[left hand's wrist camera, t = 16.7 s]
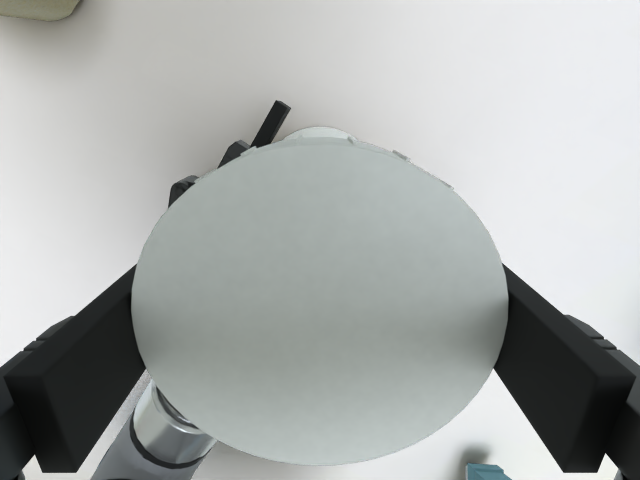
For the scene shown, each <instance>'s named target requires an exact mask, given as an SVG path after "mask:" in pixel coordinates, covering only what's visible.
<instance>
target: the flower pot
mask: <svg viewBox="0 0 640 480" xmlns="http://www.w3.org/2000/svg"><path fill="white" fill-rule="evenodd" d="M79 1H80V0H0V15H1V16H11V17H20V18H28V19H37V20H43V21H56V20H60V19H63V18H65V17H67V16H69V15H70V14H71V13H72V11H73V10H74V8H75V6H76V5H77V4H78V2H79Z"/></svg>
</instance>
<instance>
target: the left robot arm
mask: <svg viewBox="0 0 640 480" xmlns="http://www.w3.org/2000/svg"><path fill="white" fill-rule="evenodd" d="M502 265H503V269H504V272H505V276H506V283H507V291H508V321H507V326H506V331H505V336H504V340H503V344H502V348H501V350H500V353H499V356H498V359H497V361H496V363H495V365H494V367H493V368H494V370H495V371H496V373H497V374H498V376H499V377H500V379H501V380H502V382H503V383H504V385H505V386H506V388H507V389H508V391H509V392H510V394H511V395H512V397H513V398H514V400H515V401H516V403H517V404H518V405H519V407H520V408H521V410H522V411H523V413H524V414H525V416H526V417H527V419H528V420H529V422H530V423H531V425H532V426H533V428H534V429H535V431H536V432H537V434H538V435H539V437H540V438H541V440H542V441H543V443H544V444H545V446H546V447H547V449H548V450H549V452H550V453H551V455H552V456H553V458H554V459H555V461H556V462H557V464H558V465H559V467H560V468H561V470H562V471H563V473H597V472H598V470H599V467H600V465H601V462H602V460H603V457H604V455H605V453H606V454H607V455H608V456H609V458H610V459H611V460H612V461H613V462H614V464H615V465H616V466H617V467H618V468H619V469H618V471H617V474H616V476H615V478H614V480H640V366H639V365H638V364H637V363H636V362H634V361H633V360H632V359H631V358H629V357H628V356H627V355H626V354H624V353H623V352H622V351H621V350H617V349H616V346H614V345H613V344H612V343H611V342H609V341H608V340H604V337H603V336H602V335H601V334H599V333H598V332H597V331H596V330H594V329H593V328H592V327H591V326H589V325H588V324H586V323H584V322H582V321H580V320H578V319H576V318H574V317H572V316H570V315H563V314H562V313H561V312H560V311H558V310H557V309H556V308H555V307H554V306H553V305H551V304H550V303H549V302H548V301H547V300H545V299H544V298H543V297H542V296H541V295H539V294H538V293H537V292H536V291H535V290H534V289H532V288H531V287H530V286H529V285H528V284H526V283H525V282H524V281H523V280H522V279H520V278H519V277H518V276H517V275H516V274H515V273H513V272H512V271H511V270H510V269H509V268H507V267H506V266H505V265H504V264H503V263H502ZM136 266H137V264H136V265H135V266H134V267H132V268H131V269H130V270H129V271H128V272H126V273H125V274H124V275H123V276H122V277H120V278H119V279H118V280H117V281H116V282H115V283H113V284H112V285H111V286H110V287H109V288H107V289H106V290H105V291H104V292H103V293H101V294H100V295H99V296H98V297H97V298H96V299H94V300H93V301H92V302H91V303H90V304H88V305H87V306H86V307H85V308H84V309H82V310H81V311H80V312H79V313H78V314H77V315H75V316H70V317H68V318H66V319H64V320H62V321H61V322H59V323H57V324H55V325H53V326H51V327H50V328H49V329H47V330H46V331H45V332H44V333H42V334H41V335H40V336H39V337H37V338H36V341H33V342H31V343H30V344H29V345H28V346H26V347H25V348H24V350H23V351H20V352H19V353H18V354H16V355H15V356H14V357H13V358H11V359H10V360H9V361H8V362H7V363H5V364H4V365H3V366H2V367H0V480H25V476H24V474H23V471H22V469H23V468H24V467H25V465H26V464H27V463H28V462H29V461H30V459H31V458H32V457H33V456H34V455H35V456H36V458H37V461H38V463H39V465H40V468H41V470H42V473H76V472H77V471H78V469H79V468H80V466H81V465H82V463H83V462H84V460H85V459H86V457H87V456H88V454H89V453H90V451H91V450H92V448H93V447H94V445H95V444H96V442H97V441H98V439H99V438H100V436H101V435H102V433H103V432H104V431H105V429H106V428H107V426H108V425H109V423H110V422H111V420H112V419H113V417H114V416H115V414H116V413H117V411H118V410H119V408H120V407H121V405H122V404H123V402H124V401H125V399H126V398H127V396H128V395H129V393H130V392H131V390H132V389H133V387H134V386H135V384H136V383H137V381H138V380H139V378H140V377H141V375H142V374H143V372H144V371H145V369H146V366H145V364H144V362H143V359H142V357H141V355H140V353H139V350H138V346H137V341H136V337H135V333H134V328H133V323H132V314H131V299H132V286H133V281H134V276H135V271H136Z"/></svg>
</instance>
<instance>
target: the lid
mask: <svg viewBox="0 0 640 480" xmlns="http://www.w3.org/2000/svg"><path fill="white" fill-rule="evenodd" d="M409 161H410V158H408V157H406V156H404V155H402V154H400V153H399V152H397V151H395V150H393V152H390V151H387V150H385V149H382V148H380V147H377V146H375V145H372V144H368V143H364V142H360V141H356V140H354V139H353V138H352V137H350V136H348V138H347V139H345V138H334V137H303V135H299V136H298V137H297V138H295V139H290V140H284V141H278V142H275V143H272V144H269V145H266V146H263V147H260V148H256V146H254V147H252V148H250V149H248V150H246V151H245V152H243V153H241V156H240V157H238V158H236V159H234V160H232V161H230V162H229V163H227V164H225V165H223V166H222V167H220V168H218V169H217V170H216V169H214V170H212V171H210V172H208V173H207V174H205V175H203V176H201V177H200V178H198V179H196V180H195V181H194V182H195V183H196V184H194V185H193V186H191V187H190V188H189V189H188V190H187V191H186V192H185V193H184V194H182V195H181V196H180V197H179V198H178V199H177V200H176V201H175V202H174V203H173V204H172V205H171V206H170V207H169V209H168V210H167V211H166V212H165V214H164V215H162V216H161V219H160V220H159V221H158V222H157V224H156V225H155V227H154V229H153V231H152V232H151V234H150V236H149V238H148V239H147V241H146V243H145V245H144V247H143V250H142V253H141V255H140V258H139V261H138V263H137V266H136V271H135V276H134V281H133V286H132V299H131V314H132V323H133V328H134V333H135V337H136V341H137V346H138V350H139V353H140V355H141V357H142V359H143V362H144V364H145V366H146V369H147V371H148V372H149V374H150V376H151V377H152V379H153V381H154V382H155V384H156V386H157V387H158V388H159V390H160V391H161V392H162V393H163V395H164V396H165V397H166V399H167V400H168V401H169V402H170V403H171V404H172V405H173V406H174V407H175V408H176V409H177V410H178V411H179V412H180V413H181V414H182V415H183V416H184V417H185V418H186V419H187V420H189V421H190V422H191V423H193V424H194V425H195V426H196V427H198V428H199V429H200V430H202V431H203V432H205V433H207V434H208V435H210V436H212V437H213V438H215V439H216V440H218V441H220V442H222V443H224V444H226V445H228V446H231V447H233V448H235V449H237V450H240V451H242V452H245V453H248V454H251V455H253V456H257V457H260V458H264V459H268V460H272V461H277V462H283V463H289V464H296V465H311V466H327V465H342V464H351V463H358V462H362V461H367V460H372V459H376V458H379V457H382V456H386V455H389V454H392V453H395V452H397V451H400V450H402V449H404V448H407V447H409V446H411V445H414V444H416V443H417V442H419V441H421V440H423V439H425V438H426V437H428V436H430V435H432V434H433V433H435V432H436V431H437V430H439V429H440V428H442V427H443V426H444V425H446V424H447V423H449V422H450V421H451V420H452V419H453V418H454V417H455V416H457V415H458V414H459V413H460V412H461V411H462V410H463V409H464V408H465V407H466V406H467V405H468V404H469V402H470V401H471V400H472V399H473V398H474V397H475V396H476V395H477V393H478V392H479V390H480V389H481V387H482V386H483V384H484V383H485V382H486V380H487V379H488V377H489V375H490V373H491V371H492V369H493V367H494V365H495V363H496V361H497V359H498V356H499V353H500V350H501V348H502V344H503V340H504V336H505V331H506V326H507V321H508V291H507V283H506V276H505V272H504V269H503V265H502V262H501V259H500V255H499V253H498V251H497V249H496V246H495V244H494V242H493V240H492V238H491V236H490V234H489V232H488V231H487V229H486V228H485V226H484V225H483V223H482V222H481V221H480V219H479V218H478V216H477V215H476V213H475V212H474V211H473V210H472V209H471V208H470V207H469V206H468V205H467V204H466V203H465V202H464V201H463V199H462V198H461V197H460V196H459V195H458V194H457V193H455V192H454V191H453V189H454V188H453V187H452V186H450V185H448V184H447V183H445V182H443V181H442V180H440V179H438V178H436V177H435V176H433V175H431V174H429V173H428V172H426V171H424V170H423V169H421V168H419V167H417V166H416V165H414V164H412V163H410V162H409Z"/></svg>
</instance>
